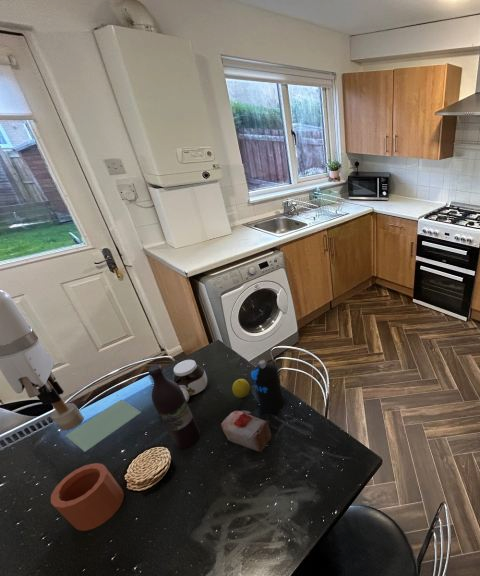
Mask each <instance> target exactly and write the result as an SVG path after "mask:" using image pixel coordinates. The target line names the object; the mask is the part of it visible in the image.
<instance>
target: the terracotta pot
mask: <svg viewBox="0 0 480 576" xmlns="http://www.w3.org/2000/svg"><path fill="white" fill-rule="evenodd" d="M124 498H125V493H124V491H123V488H122V486H120V484H119V483H118V482H117V480H116V479H115V478H114V476H113V475H112V473H111V472H110V471H109V469H108V468H107V467H106V466H105V465H104V464H103V463H99V462H98V463H97V462H96V463H95V462H94V463H90V464H85V465H83V466H81V467H79V468H76V469H74V470H73V471H72V472H71V473H69V474H67V475H66V476H65V477H64V478H63V479H61V481H60V482H59V483H58V484H57V485H56V486H55V488H54V489H53V490H52V492H51V494H50V504H51V505H52V506H53V507H54V508H55V509H56V510H57V511H58V513H60V515H62V516H63V517H64V518H65V519H66V521H68V522H69V524H70V525H71V526H72V527H74V529H75V530H77V531H82V532H84V531H85V532H86V531H90V530H93V529H96V528H98V527H99V526H102V525H103V524H105V523H106V522H107V521H108V520H110V519H111V518H112V517H113V516H114V515H115V514H116V513H117V512H118V510H119V509H120V507H121V506H122V504H123V502H124Z"/></svg>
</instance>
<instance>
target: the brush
mask: <svg viewBox="0 0 480 576" xmlns="http://www.w3.org/2000/svg"><path fill="white" fill-rule="evenodd" d="M47 383H48V384H49V386H50V387H51V389H53V388H54V387H53V386H52V384H51V383H50V382H49V380H47ZM42 387H43V386H42ZM38 388H41V387H40V386H39V387H38ZM55 391H56V390H55ZM56 392H57V391H56ZM58 395H59V394H58ZM59 396H60V395H59ZM60 398H61V400H60V401H59V402H55V403H52V404H51V405H52V407H53V408H54V410H53V411H52V412H51V413H50V417H51V419H52V420H53V421H54V423H55V424H56V425H57V427H58V428H59V429H60V431H63V432H67V431H72V430H74V429H76V428H78V427H79V426H81V425H82V424H83V422H84V420H85V416H84V415H83V413H82V412H81V411H80V410H79V408H78V407H77V405H76V404H75V403H73V402H69V403H65V401H64V400H63V399H62V398H63V397H61V396H60Z"/></svg>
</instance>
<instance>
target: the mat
mask: <svg viewBox="0 0 480 576" xmlns="http://www.w3.org/2000/svg"><path fill="white" fill-rule="evenodd" d="M141 413H142V412H141V411H140V410H138V409H137V408H135V407H133V406H132V405H131V404H129V403H128V402H127V401H124V400H123V399H120V400H118V401H117V402H115V403H114V404H112V405H111V406H108V407H107V408H106V409H104V410H103V411H101V412H100V413H98V414H97V415H95V416H94V417H91V418H90V419H89V420H87V421H86V422H84V423H82V424H80V425H78V426H77V427H75V428H74V429H72V430H71V431H70V432H69V433H67V434H65V437H66V438H67V439H68V440H70V441H71V442H72V443H73V444H74V445H76V446H77V447H78V448H79V449H80V450H82V451H83V452H84V453H86V452H87V451H88V450H90V449H91V448H93V447H94V446H96V445H97V444H99V443H100V442H101V441H103V440H105V439H106V438H107V437H109V436H110V435H111V434H113V433H114V432H115V431H117V430H118V429H120V428H121V427H123V426H124V425H126V424H127V423H128V422H129V421H131V420H133V419H134V418H135V417H137V416H138V415H140V414H141Z"/></svg>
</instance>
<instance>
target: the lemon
mask: <svg viewBox="0 0 480 576" xmlns="http://www.w3.org/2000/svg"><path fill="white" fill-rule="evenodd" d="M231 389H232V393H233V395H234V396H235V397H236V398H239V399H243V398H245V397H247V396H248V395H249V393H250V390H251V386H250V384H249V381H247V379H244V378H239V379H236V380H235V381H234V382H233V384H232V387H231Z"/></svg>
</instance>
